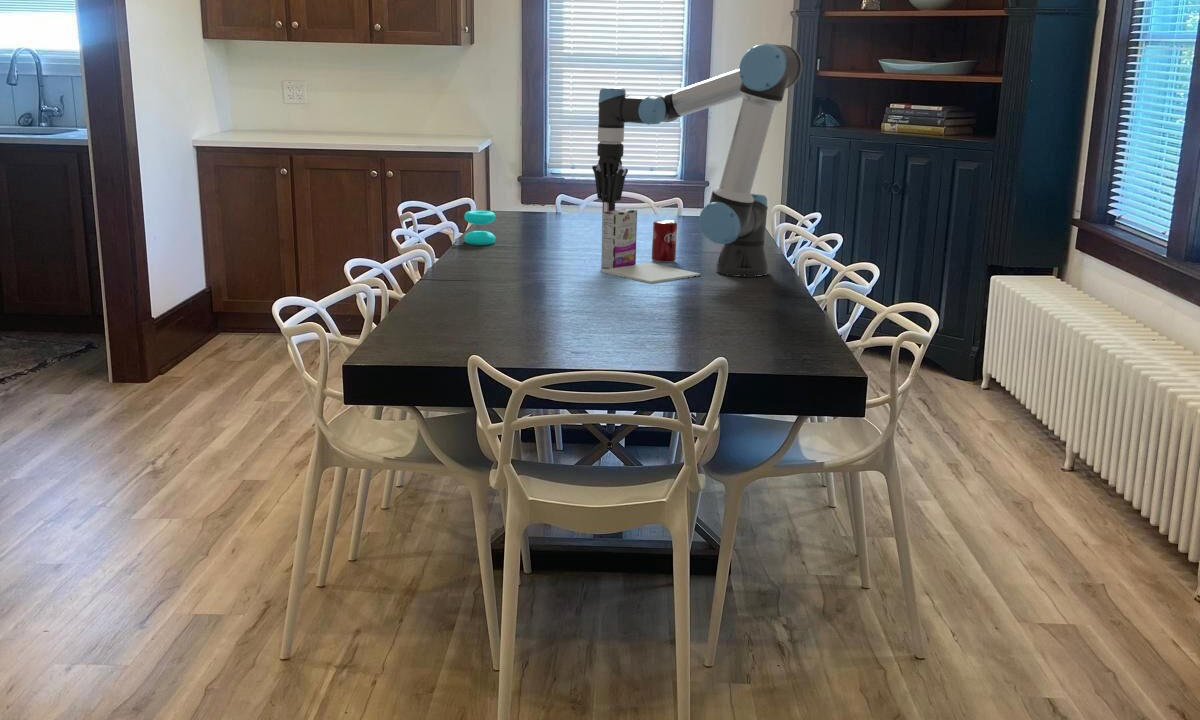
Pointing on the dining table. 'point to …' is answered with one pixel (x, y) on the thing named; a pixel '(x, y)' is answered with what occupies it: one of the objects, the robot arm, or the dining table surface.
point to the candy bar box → (619, 238)
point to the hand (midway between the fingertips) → (608, 224)
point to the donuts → (479, 236)
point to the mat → (650, 272)
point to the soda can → (664, 241)
